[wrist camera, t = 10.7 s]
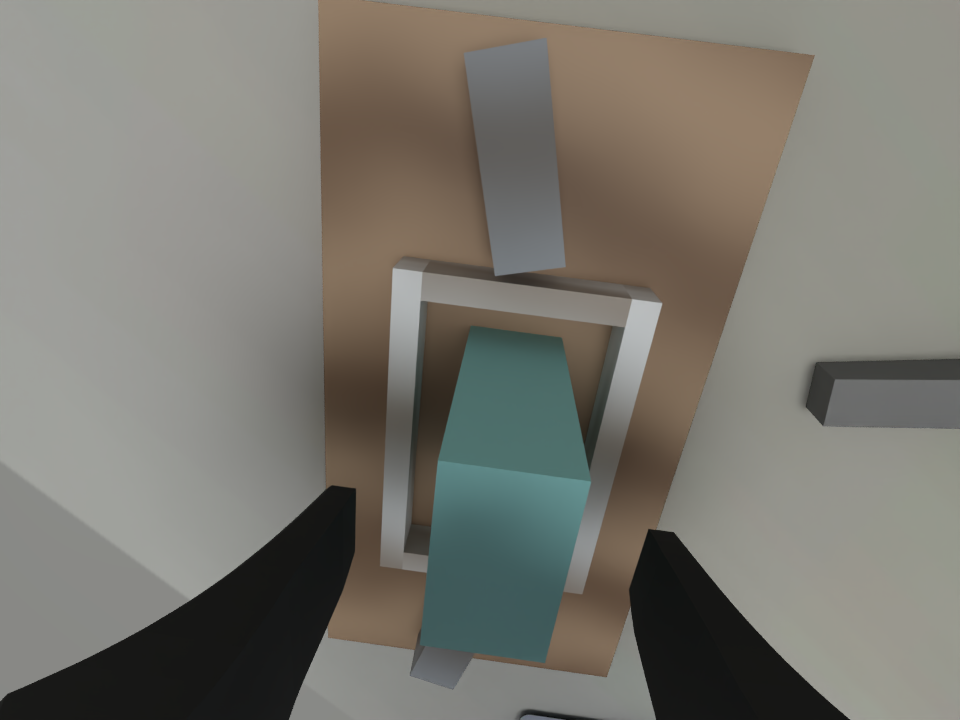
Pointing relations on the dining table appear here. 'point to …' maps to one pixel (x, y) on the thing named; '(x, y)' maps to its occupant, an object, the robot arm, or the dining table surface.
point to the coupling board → (619, 221)
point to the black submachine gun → (887, 394)
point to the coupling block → (505, 499)
